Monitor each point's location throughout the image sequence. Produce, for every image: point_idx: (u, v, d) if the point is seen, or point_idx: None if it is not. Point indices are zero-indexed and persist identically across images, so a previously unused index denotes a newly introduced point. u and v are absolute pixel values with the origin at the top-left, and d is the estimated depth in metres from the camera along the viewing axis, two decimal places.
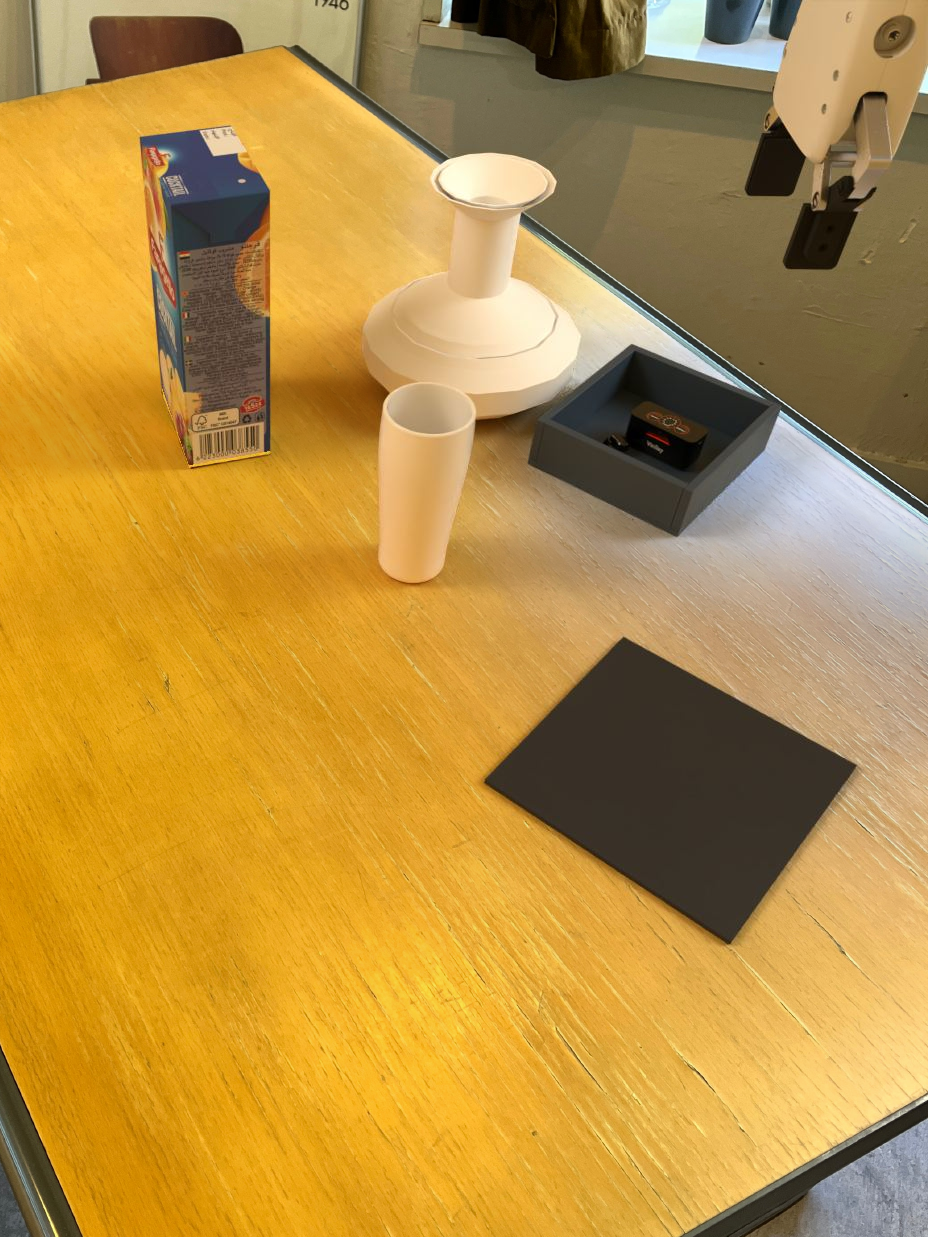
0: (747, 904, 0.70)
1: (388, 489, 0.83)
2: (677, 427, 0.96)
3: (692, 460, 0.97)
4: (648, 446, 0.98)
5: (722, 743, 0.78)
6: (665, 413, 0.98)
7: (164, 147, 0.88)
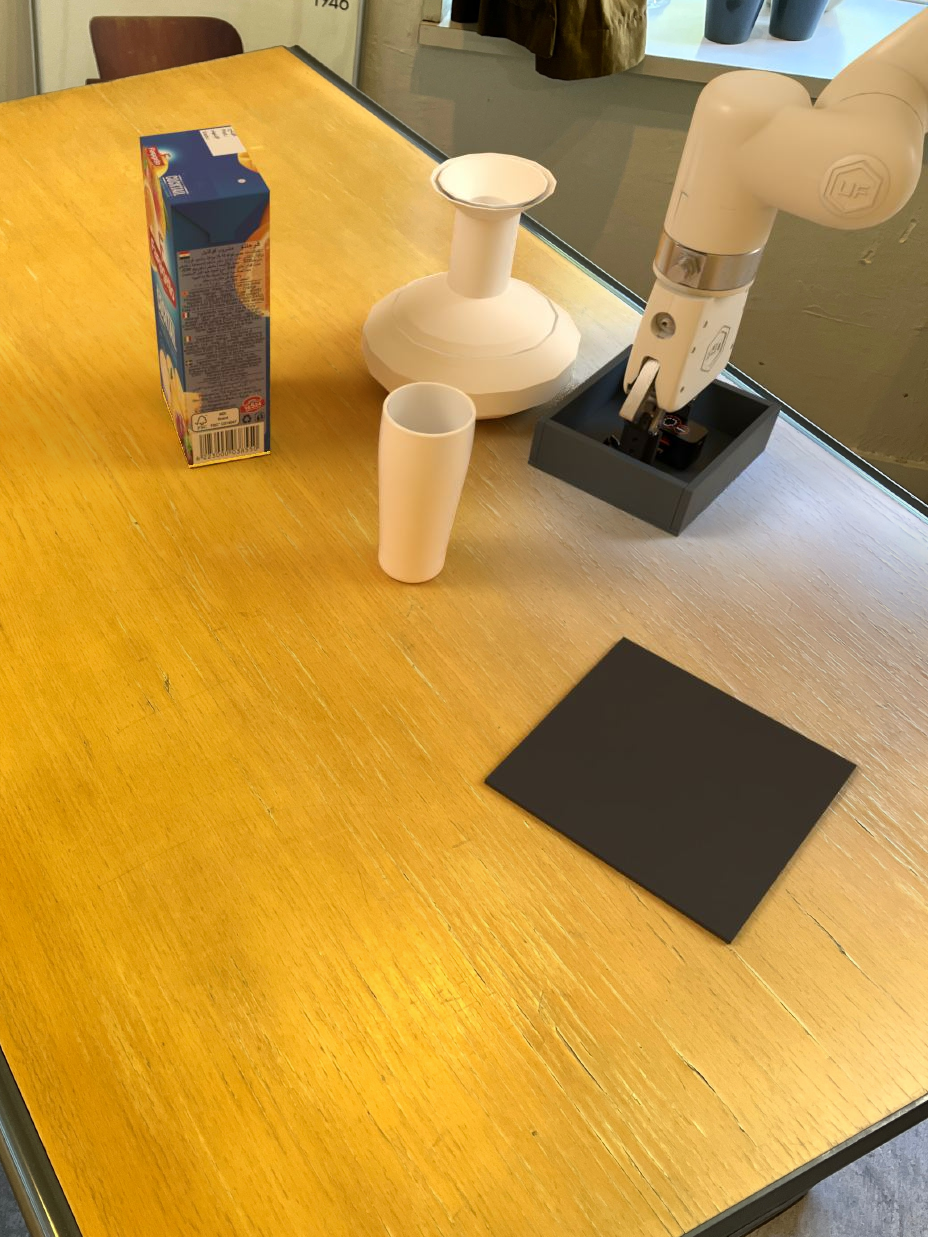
0: (747, 904, 0.70)
1: (388, 489, 0.83)
2: (677, 427, 0.96)
3: (692, 460, 0.97)
4: None
5: (722, 743, 0.78)
6: None
7: (164, 147, 0.88)
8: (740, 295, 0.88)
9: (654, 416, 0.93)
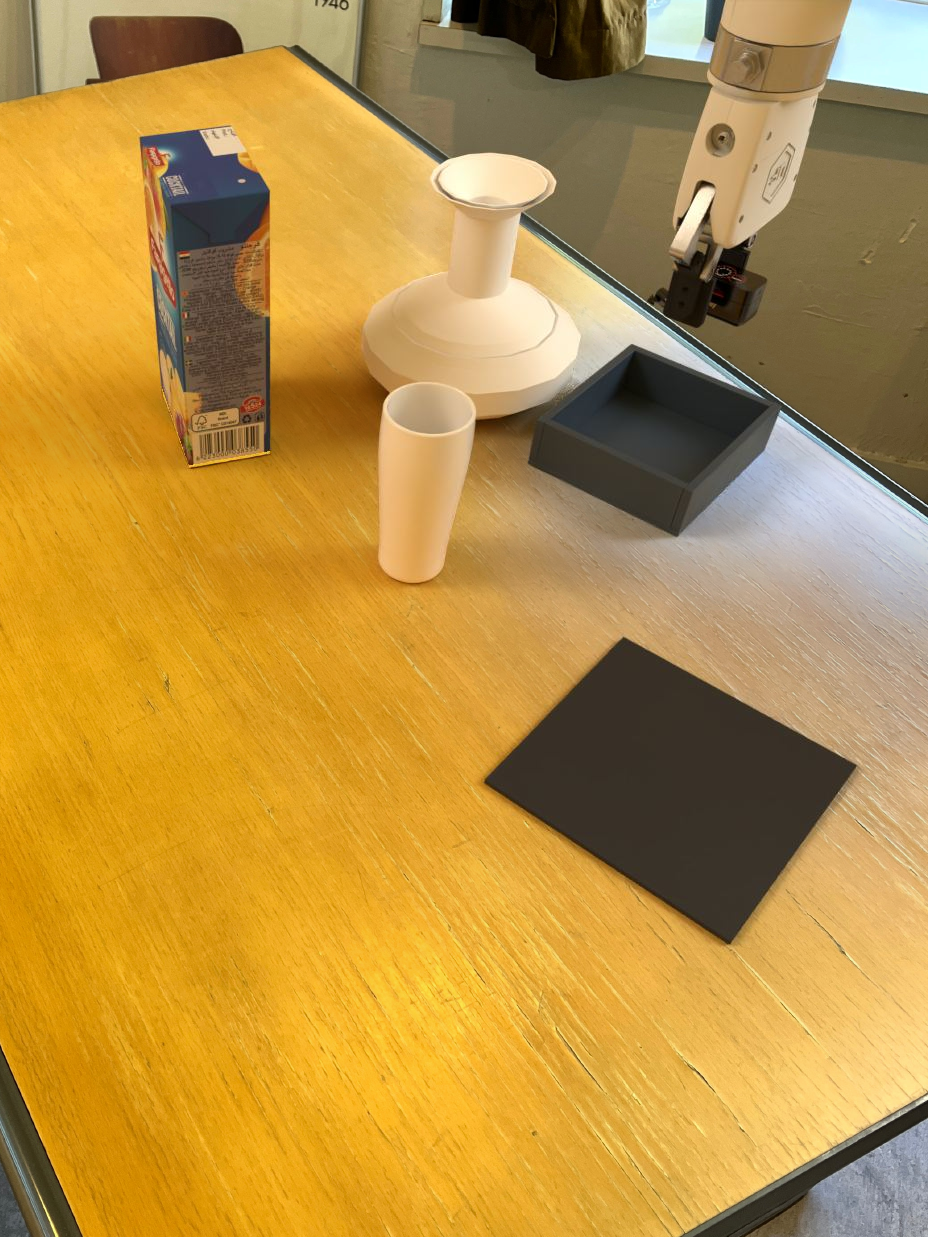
0: (747, 904, 0.70)
1: (388, 489, 0.83)
2: (732, 277, 0.86)
3: (749, 315, 0.86)
4: None
5: (722, 743, 0.78)
6: (718, 264, 0.87)
7: (164, 147, 0.88)
8: (807, 108, 0.77)
9: (708, 257, 0.82)
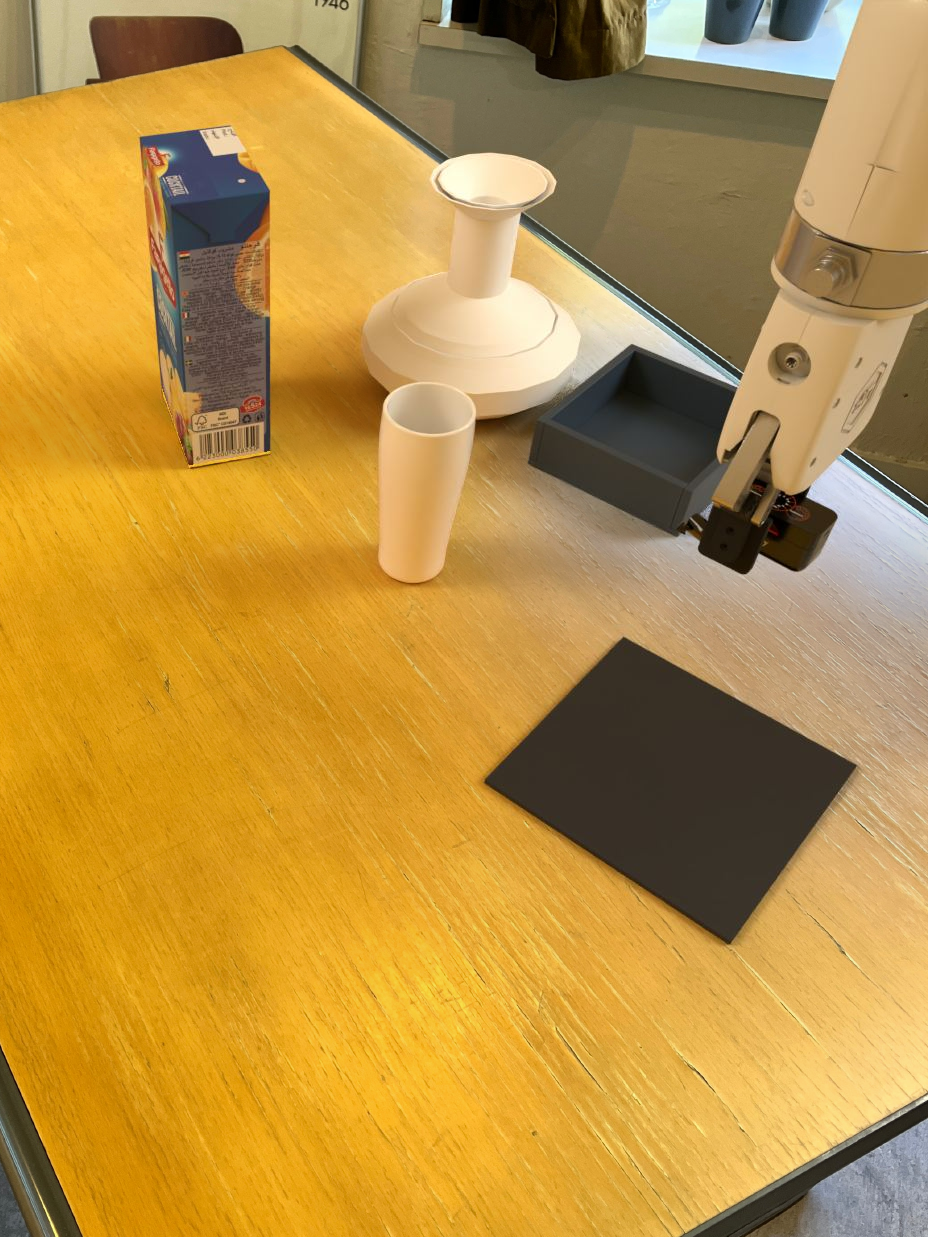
0: (747, 904, 0.70)
1: (388, 489, 0.83)
2: (791, 509, 0.64)
3: (812, 558, 0.65)
4: None
5: (722, 743, 0.78)
6: None
7: (164, 147, 0.88)
8: None
9: (763, 498, 0.61)
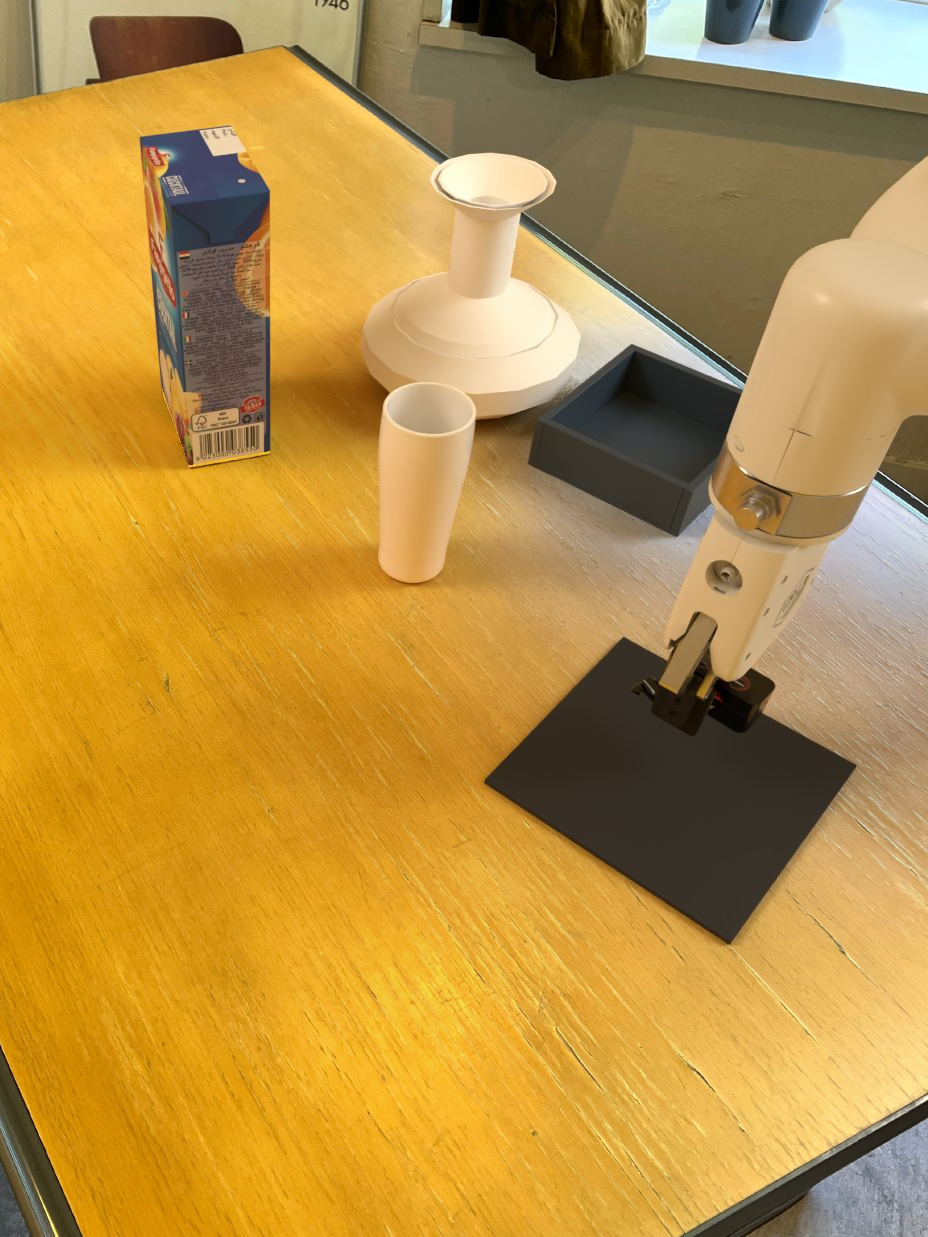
0: (747, 904, 0.70)
1: (388, 489, 0.83)
2: None
3: (753, 722, 0.72)
4: None
5: (722, 743, 0.78)
6: None
7: (164, 147, 0.88)
8: None
9: (706, 678, 0.67)
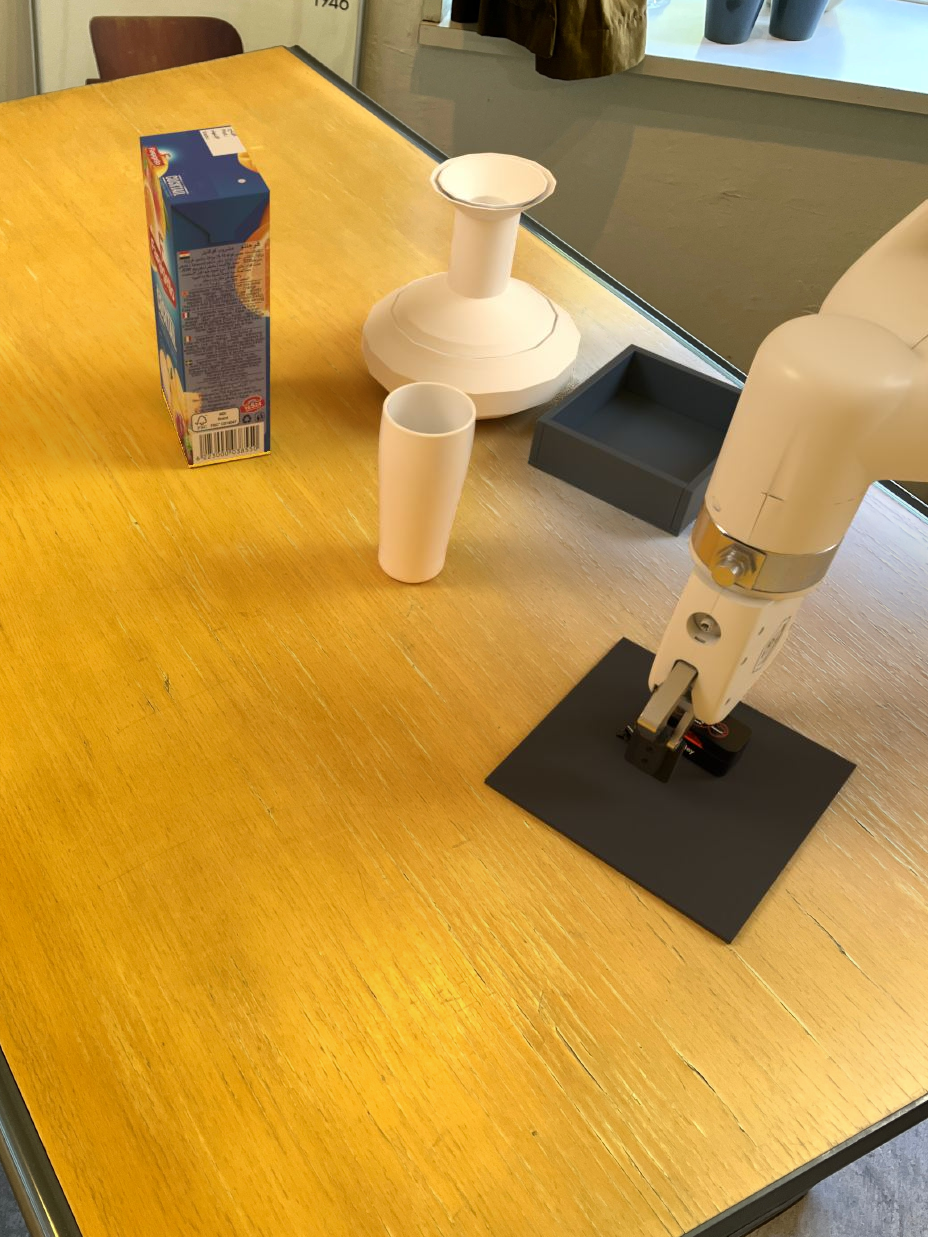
0: (747, 904, 0.70)
1: (388, 489, 0.83)
2: (712, 726, 0.75)
3: (731, 766, 0.75)
4: None
5: None
6: None
7: (164, 147, 0.88)
8: None
9: (680, 723, 0.69)
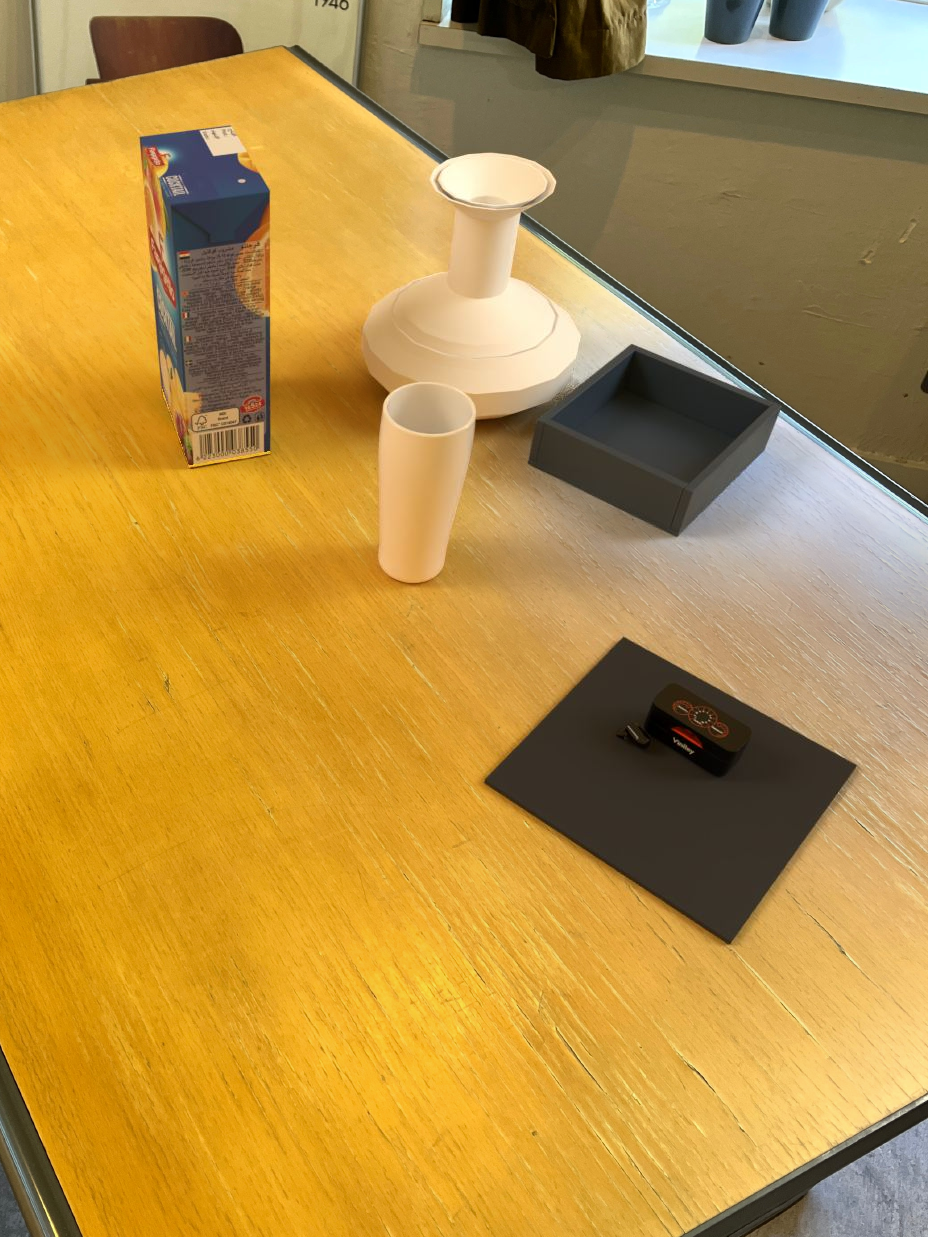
0: (747, 904, 0.70)
1: (388, 489, 0.83)
2: (712, 726, 0.75)
3: (731, 766, 0.75)
4: (674, 743, 0.77)
5: None
6: (697, 703, 0.76)
7: (164, 147, 0.88)
8: None
9: None
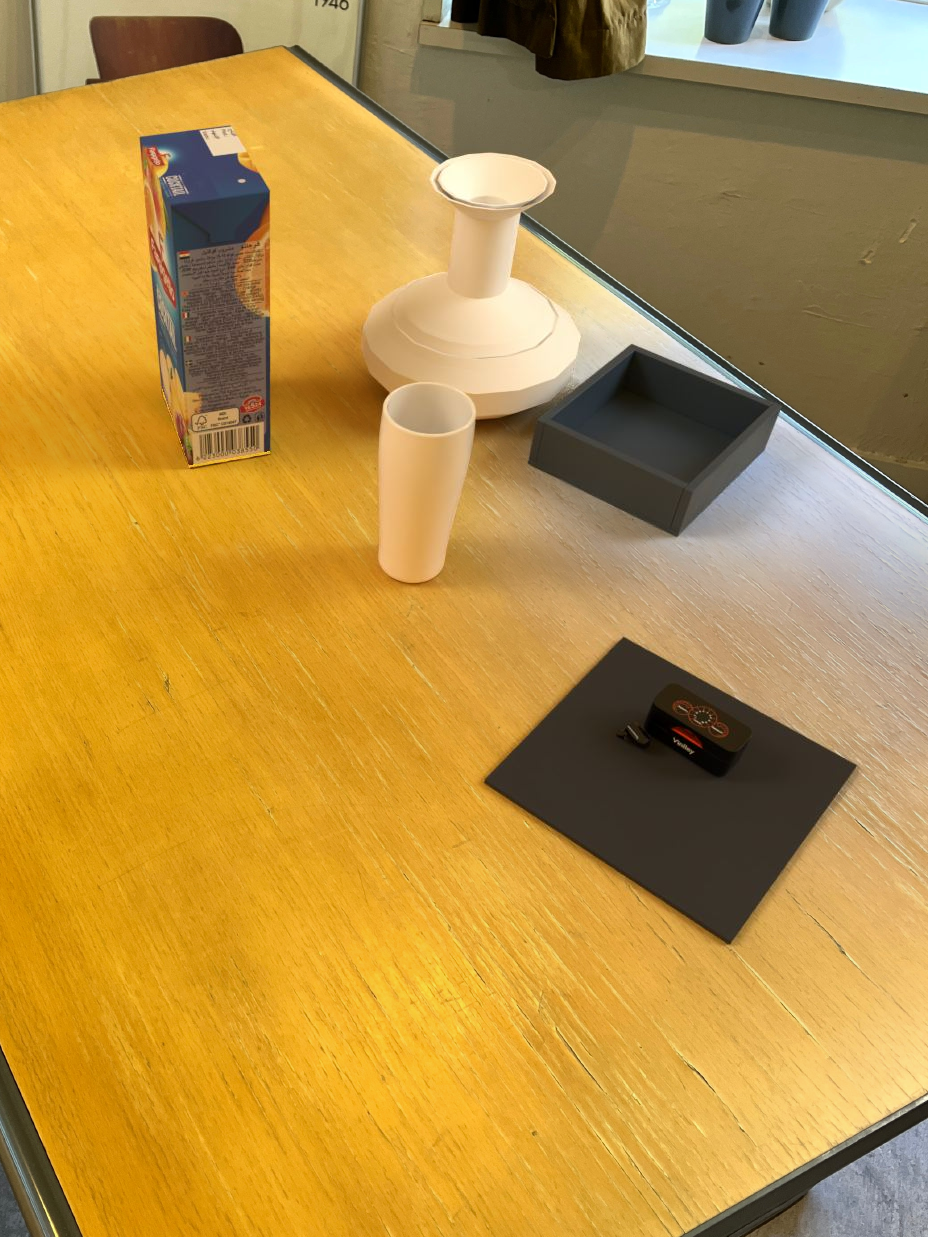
0: (747, 904, 0.70)
1: (388, 489, 0.83)
2: (712, 726, 0.75)
3: (731, 766, 0.75)
4: (674, 743, 0.77)
5: None
6: (697, 703, 0.76)
7: (164, 147, 0.88)
8: None
9: None
